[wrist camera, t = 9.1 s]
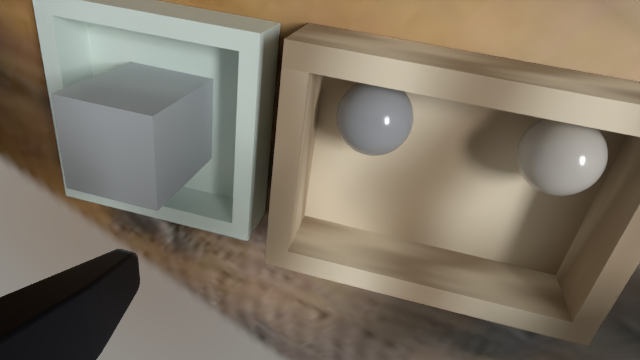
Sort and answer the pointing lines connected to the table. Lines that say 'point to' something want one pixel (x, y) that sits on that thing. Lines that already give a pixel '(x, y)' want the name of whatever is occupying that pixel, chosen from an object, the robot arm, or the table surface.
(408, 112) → the grey ball
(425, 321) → the table surface
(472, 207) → the crate
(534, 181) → the grey ball
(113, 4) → the tub
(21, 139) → the table surface
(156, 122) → the stone block
